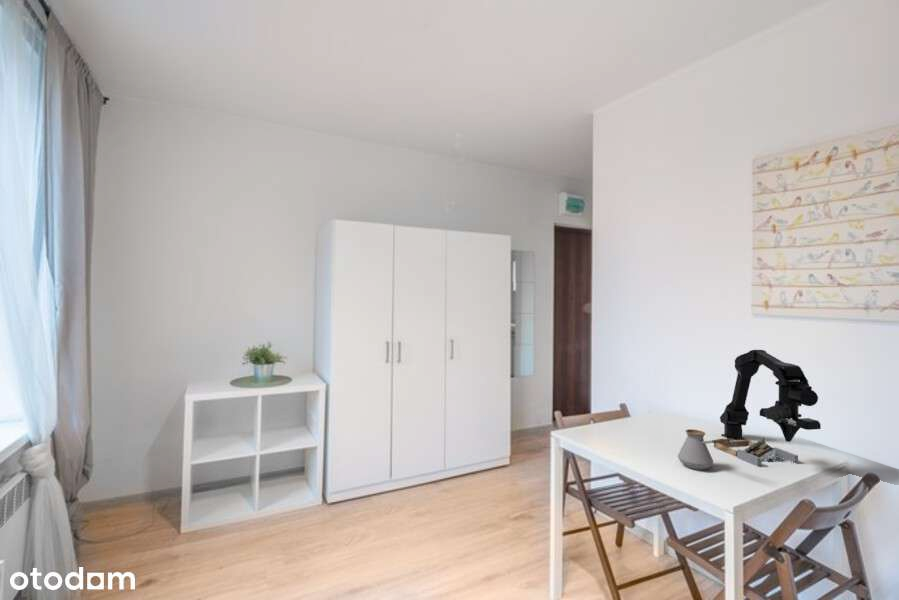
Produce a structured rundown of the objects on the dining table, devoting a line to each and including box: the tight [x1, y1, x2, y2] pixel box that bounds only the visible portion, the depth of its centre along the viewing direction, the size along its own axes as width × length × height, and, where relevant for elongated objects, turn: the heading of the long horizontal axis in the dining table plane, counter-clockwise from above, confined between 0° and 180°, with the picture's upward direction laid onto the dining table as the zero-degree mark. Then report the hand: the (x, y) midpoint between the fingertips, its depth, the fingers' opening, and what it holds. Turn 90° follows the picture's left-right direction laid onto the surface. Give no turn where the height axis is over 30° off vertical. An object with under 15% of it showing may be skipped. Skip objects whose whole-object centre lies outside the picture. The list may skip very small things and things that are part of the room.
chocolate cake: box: [742, 437, 777, 463], centre depth 165 cm, size 10×7×12 cm
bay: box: [736, 446, 799, 467], centre depth 163 cm, size 9×18×3 cm, turn 100°
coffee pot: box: [677, 428, 738, 471], centre depth 152 cm, size 21×12×15 cm, turn 19°
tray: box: [713, 439, 756, 458], centre depth 173 cm, size 11×17×2 cm, turn 100°
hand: (788, 441), depth 154 cm, fingers closed
